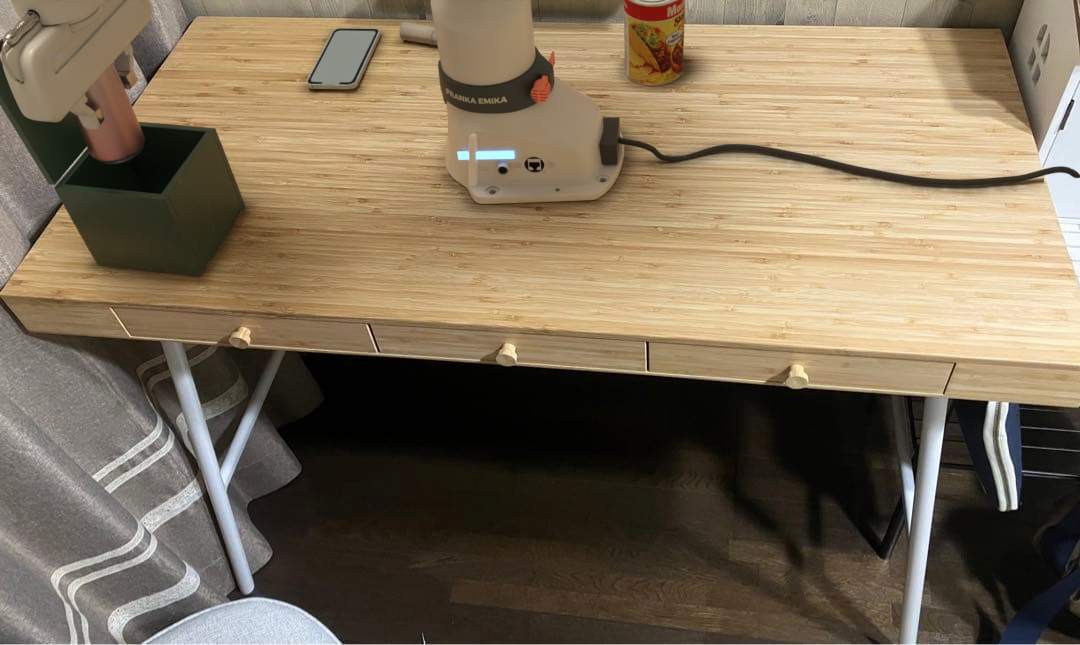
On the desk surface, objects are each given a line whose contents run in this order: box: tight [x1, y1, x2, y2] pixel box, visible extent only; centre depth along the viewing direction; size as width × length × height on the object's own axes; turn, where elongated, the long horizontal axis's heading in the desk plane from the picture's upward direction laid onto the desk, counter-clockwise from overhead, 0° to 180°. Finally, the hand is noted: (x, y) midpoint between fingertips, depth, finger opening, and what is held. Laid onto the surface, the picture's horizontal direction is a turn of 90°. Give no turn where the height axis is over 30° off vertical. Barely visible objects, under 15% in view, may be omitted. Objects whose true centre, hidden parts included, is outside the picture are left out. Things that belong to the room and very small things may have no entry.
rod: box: [399, 20, 438, 46], centre depth 145 cm, size 12×3×3 cm, turn 67°
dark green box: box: [53, 121, 246, 278], centre depth 118 cm, size 14×13×12 cm
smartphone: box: [306, 27, 382, 90], centre depth 144 cm, size 7×1×15 cm
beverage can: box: [71, 62, 145, 164], centre depth 107 cm, size 6×6×15 cm
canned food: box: [622, 0, 686, 87], centre depth 133 cm, size 8×8×12 cm
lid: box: [0, 37, 87, 186], centre depth 110 cm, size 14×13×5 cm
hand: (112, 104), depth 108 cm, fingers closed on beverage can, 6 cm apart
